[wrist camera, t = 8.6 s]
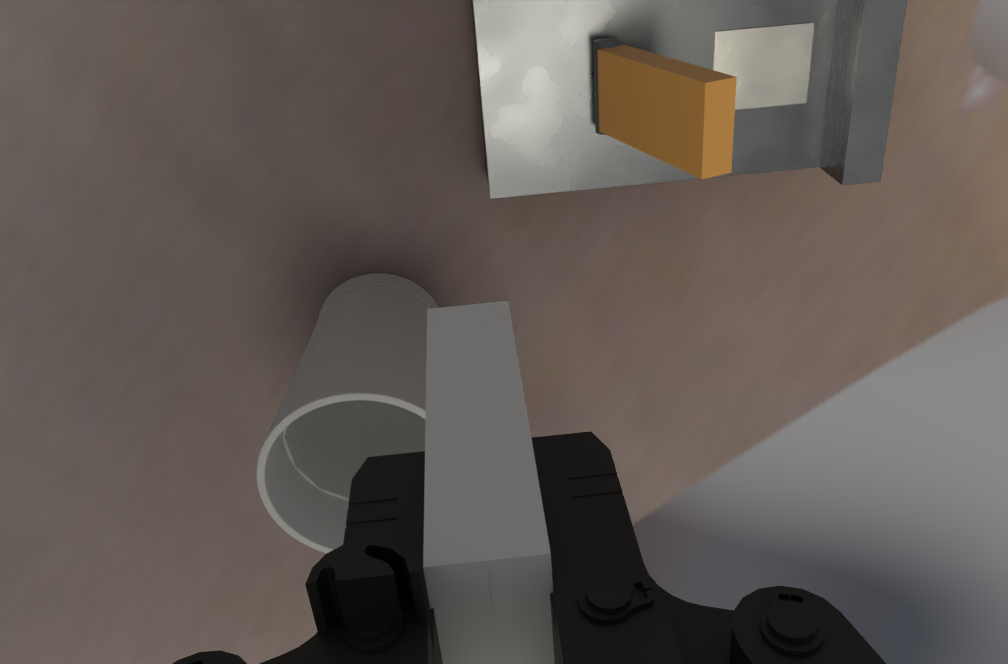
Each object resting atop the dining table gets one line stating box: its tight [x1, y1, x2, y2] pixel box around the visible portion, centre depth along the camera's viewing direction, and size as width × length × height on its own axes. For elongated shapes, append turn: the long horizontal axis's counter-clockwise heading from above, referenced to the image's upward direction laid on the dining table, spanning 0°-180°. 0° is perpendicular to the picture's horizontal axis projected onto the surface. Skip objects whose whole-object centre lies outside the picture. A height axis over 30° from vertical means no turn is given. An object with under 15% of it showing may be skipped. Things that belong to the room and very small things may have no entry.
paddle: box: [593, 38, 737, 179], centre depth 31 cm, size 1×4×8 cm, turn 4°
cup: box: [256, 273, 439, 553], centre depth 38 cm, size 8×8×12 cm
